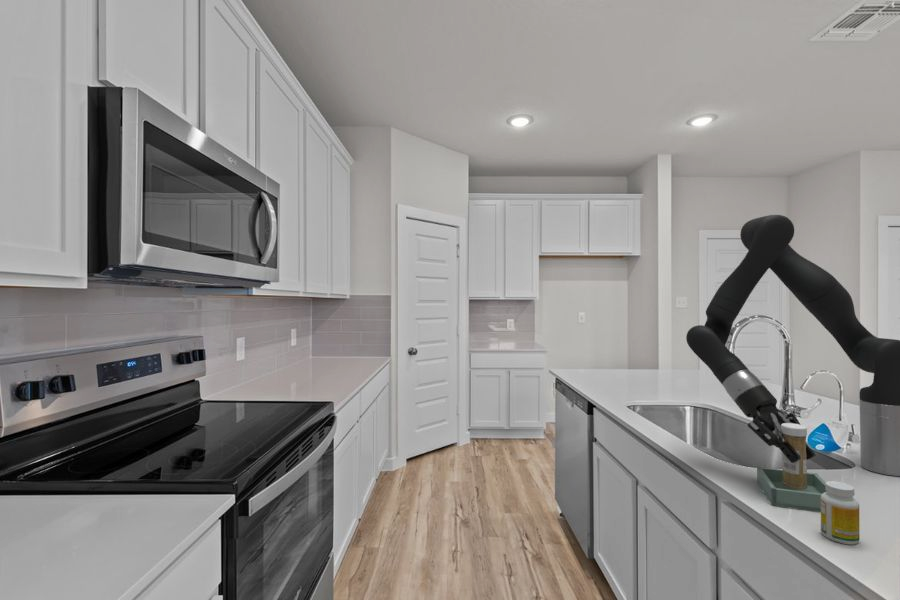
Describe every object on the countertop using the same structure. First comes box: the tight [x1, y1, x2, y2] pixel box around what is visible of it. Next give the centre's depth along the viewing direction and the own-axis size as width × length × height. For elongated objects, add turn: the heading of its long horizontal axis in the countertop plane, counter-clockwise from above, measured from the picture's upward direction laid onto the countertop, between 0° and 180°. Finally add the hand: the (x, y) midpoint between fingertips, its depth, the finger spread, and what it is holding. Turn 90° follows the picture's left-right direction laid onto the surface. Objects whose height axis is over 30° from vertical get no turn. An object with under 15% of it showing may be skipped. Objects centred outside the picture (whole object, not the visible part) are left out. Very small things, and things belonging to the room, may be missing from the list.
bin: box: [756, 466, 827, 513], centre depth 100 cm, size 14×12×4 cm
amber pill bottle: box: [781, 423, 808, 489], centre depth 100 cm, size 5×5×14 cm
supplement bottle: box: [820, 480, 861, 546], centre depth 82 cm, size 5×5×10 cm
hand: (803, 458), depth 98 cm, fingers closed on amber pill bottle, 4 cm apart
